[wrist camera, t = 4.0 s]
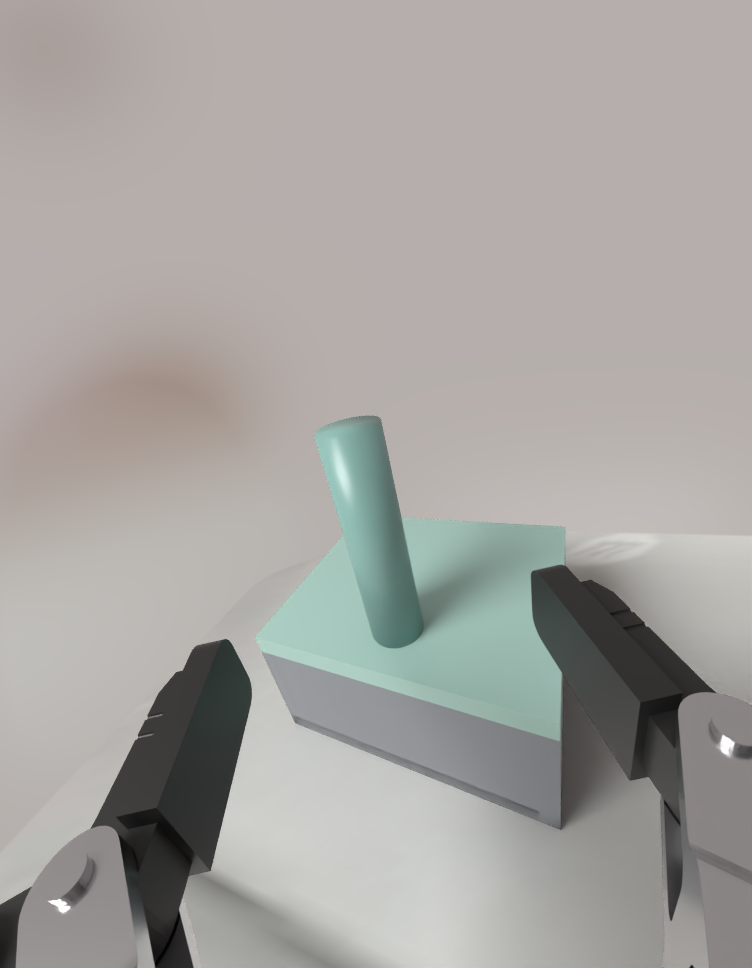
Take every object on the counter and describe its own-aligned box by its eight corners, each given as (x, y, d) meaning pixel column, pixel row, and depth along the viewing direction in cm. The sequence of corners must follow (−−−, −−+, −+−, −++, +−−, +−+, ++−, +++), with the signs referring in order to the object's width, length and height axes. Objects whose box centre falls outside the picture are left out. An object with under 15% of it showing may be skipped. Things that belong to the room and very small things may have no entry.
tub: (564, 615, 24) (565, 540, 22) (560, 829, 15) (560, 741, 13) (379, 585, 31) (363, 526, 29) (295, 722, 22) (261, 651, 19)
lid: (565, 554, 22) (565, 351, 18) (560, 758, 13) (559, 443, 8) (366, 536, 29) (326, 385, 24) (267, 664, 20) (169, 458, 15)
